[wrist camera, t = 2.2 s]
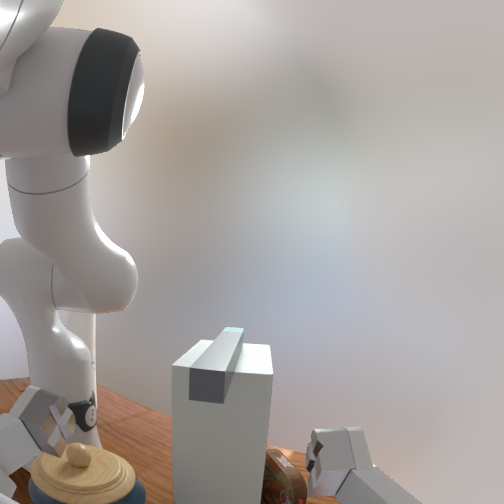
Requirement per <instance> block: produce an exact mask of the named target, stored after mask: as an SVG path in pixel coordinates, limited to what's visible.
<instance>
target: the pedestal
mask: <svg viewBox="0 0 504 504" xmlns="http://www.w3.org/2000/svg"><path fill="white" fill-rule="evenodd" d="M212 342H213V341H209V340H201V341H199V342H198V343H197V344H196V345H195V346H194V347H193V348H191V349H190V350H189V351H188V352H187V353H185V354H184V355H183V356H182V357H181V358H180V359H178V360H177V361H176V362H175V363H174V364H173V365H172V390H171V395H172V396H171V414H172V415H171V429H172V469H173V491H174V504H260V502H261V493H262V485H263V475H264V466H265V456H266V447H267V436H268V426H269V416H270V404H271V393H272V381H273V369H272V361H271V352H270V346H269V345H258V344H244V343H243V347H242V350H241V353H240V356H239V359H238V362H237V365H236V368H235V371H234V374H233V377H232V380H231V383H230V386H229V389H228V392H227V395H226V398H225V401H224V404H219V403H210V402H202V401H194V400H189V372H190V367H191V365H192V364H193V363H194V362H195V361H196V360H197V359H198V358H199V357H200V356H201V354H202V353H203V352H204V351H205V350H206V349H207V348H208V347H209V346H210V345H211V343H212Z"/></svg>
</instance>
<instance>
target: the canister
mask: <svg viewBox="0 0 504 504" xmlns="http://www.w3.org/2000/svg"><path fill="white" fill-rule="evenodd" d="M30 472H31V477H30V479H29V482H28V491H29V495H30V497H31V499H32V501H33V502H34V504H144V503H145V498H146V494H145V490H144V487H143V485H142V484H141V482H140V481H139V480H138V479H137V478H136V477H135V472H134V470H133V468H132V467H131V465H130V464H129V463H128V462H127V461H125V460H124V459H123V458H121V457H119V456H117V455H115V454H113V453H111V452H108V451H106V450H104V449H101V448H98V447H95V446H91V445H84V444H81V443H72V444H67V446H66V448H65V450H64V452H63V454H62V456H61V458H59V457H56V456H53V455H50V454H48V453H45V452H43V453H41V454H40V455H38V456H37V457H36V458H35V459H34V461H33V462H32V465H31V469H30Z"/></svg>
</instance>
